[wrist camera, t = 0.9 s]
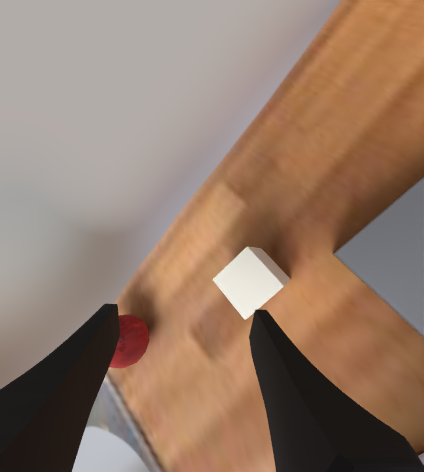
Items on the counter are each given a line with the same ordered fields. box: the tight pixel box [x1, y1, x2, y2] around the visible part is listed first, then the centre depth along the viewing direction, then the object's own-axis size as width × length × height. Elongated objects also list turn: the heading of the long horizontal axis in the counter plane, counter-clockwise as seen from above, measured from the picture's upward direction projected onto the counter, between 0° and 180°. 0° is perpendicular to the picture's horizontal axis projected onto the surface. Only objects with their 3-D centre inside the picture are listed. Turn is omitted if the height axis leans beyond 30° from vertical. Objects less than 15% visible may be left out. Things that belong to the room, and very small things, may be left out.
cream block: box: [213, 246, 291, 320], centre depth 23 cm, size 4×4×6 cm
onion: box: [109, 315, 149, 368], centre depth 28 cm, size 6×6×8 cm
